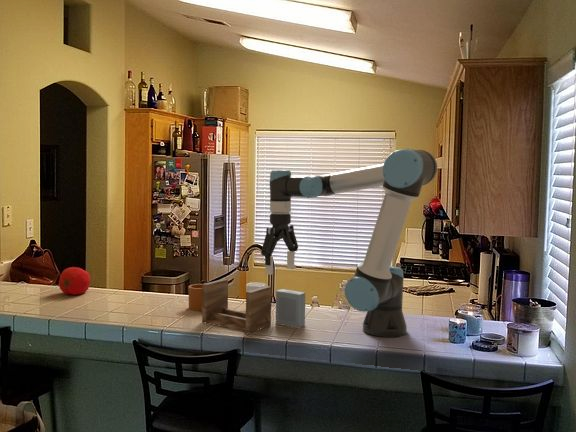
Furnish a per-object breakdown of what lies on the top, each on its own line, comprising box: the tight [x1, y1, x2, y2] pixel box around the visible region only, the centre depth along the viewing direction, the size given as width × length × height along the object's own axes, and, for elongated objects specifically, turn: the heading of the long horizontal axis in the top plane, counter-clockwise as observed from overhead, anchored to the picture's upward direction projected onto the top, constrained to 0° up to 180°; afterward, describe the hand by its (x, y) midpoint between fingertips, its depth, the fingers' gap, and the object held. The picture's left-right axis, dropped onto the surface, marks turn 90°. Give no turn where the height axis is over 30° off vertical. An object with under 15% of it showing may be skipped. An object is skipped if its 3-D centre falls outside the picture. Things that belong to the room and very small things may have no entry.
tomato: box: [58, 266, 92, 296], centre depth 254 cm, size 13×13×13 cm
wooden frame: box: [201, 278, 272, 333], centre depth 211 cm, size 22×12×14 cm, turn 56°
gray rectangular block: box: [275, 288, 306, 329], centre depth 211 cm, size 10×4×12 cm, turn 56°
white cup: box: [245, 281, 267, 292], centre depth 232 cm, size 8×8×10 cm
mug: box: [187, 283, 203, 312], centre depth 232 cm, size 9×12×9 cm
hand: (280, 271), depth 213 cm, fingers open, 13 cm apart
